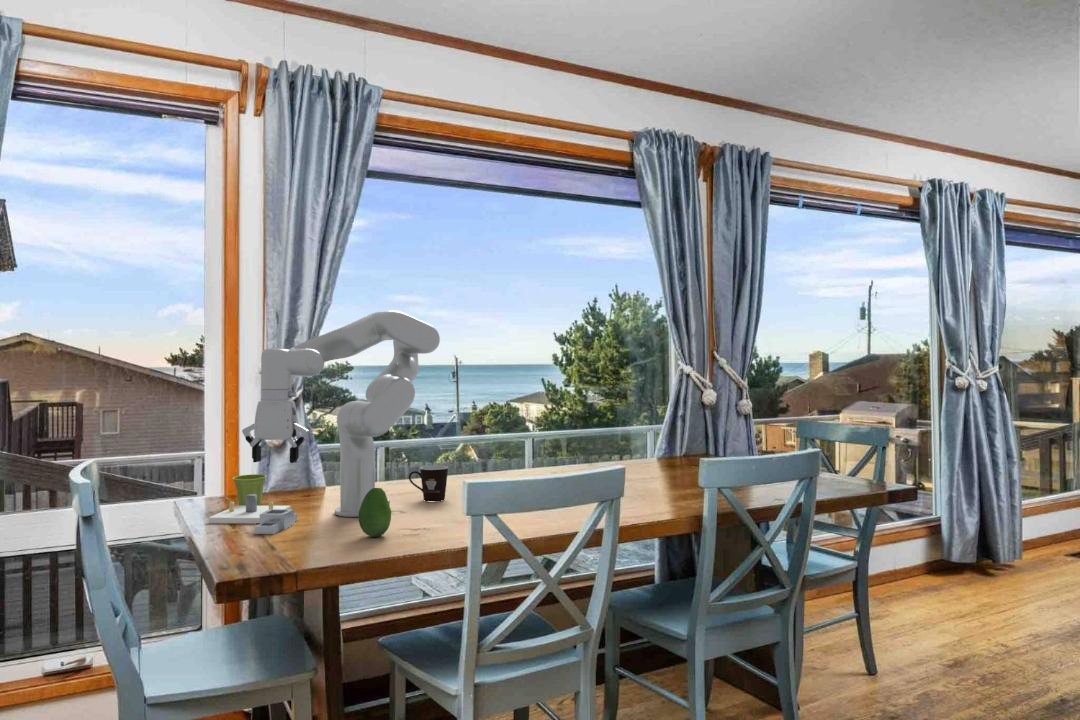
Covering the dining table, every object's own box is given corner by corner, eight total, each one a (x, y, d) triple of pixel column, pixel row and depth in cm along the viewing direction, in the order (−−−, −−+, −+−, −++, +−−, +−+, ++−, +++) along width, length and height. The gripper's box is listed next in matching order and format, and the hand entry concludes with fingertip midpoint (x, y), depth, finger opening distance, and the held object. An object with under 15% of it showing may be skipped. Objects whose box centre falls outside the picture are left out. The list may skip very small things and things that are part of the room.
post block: (290, 510, 210) (290, 490, 210) (268, 523, 194) (268, 500, 194) (235, 510, 210) (235, 489, 210) (208, 523, 194) (208, 500, 194)
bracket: (277, 520, 198) (276, 505, 198) (300, 520, 198) (300, 505, 198) (251, 534, 182) (251, 518, 182) (276, 534, 182) (276, 518, 182)
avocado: (396, 533, 183) (396, 485, 183) (382, 541, 175) (382, 491, 175) (367, 531, 184) (366, 484, 184) (352, 539, 177) (352, 489, 177)
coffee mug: (453, 499, 227) (453, 467, 227) (435, 503, 220) (435, 470, 220) (425, 495, 233) (425, 464, 233) (406, 499, 226) (406, 467, 226)
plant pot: (244, 510, 211) (243, 480, 211) (226, 506, 217) (226, 477, 216) (273, 505, 218) (273, 476, 218) (255, 501, 224) (255, 473, 224)
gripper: (313, 395, 193) (313, 460, 193) (250, 395, 194) (249, 459, 194) (303, 397, 186) (302, 464, 186) (236, 396, 187) (235, 463, 187)
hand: (275, 461), depth 190 cm, fingers open, 9 cm apart
